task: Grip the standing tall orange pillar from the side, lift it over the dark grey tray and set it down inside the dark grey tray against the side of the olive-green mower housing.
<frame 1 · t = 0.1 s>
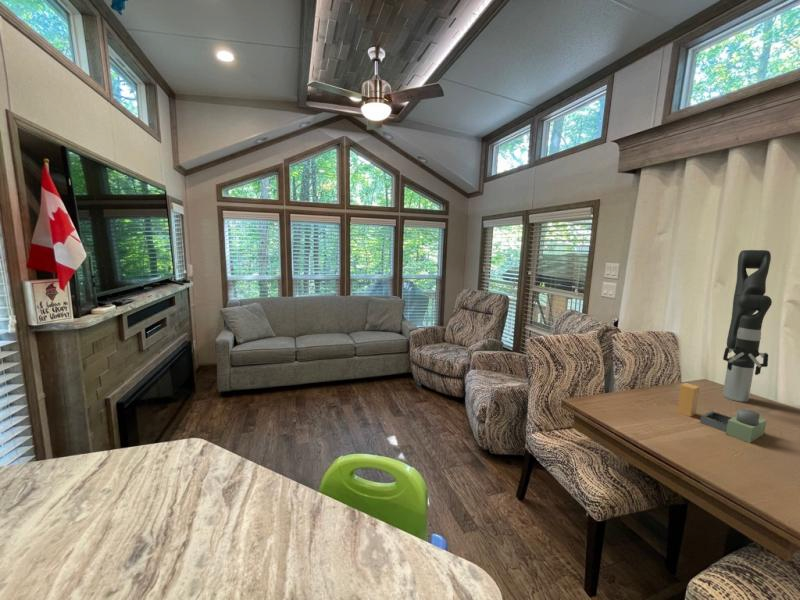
hand: (742, 372, 155), 17 cm above the table, tool pointing down, fingers open, 8 cm apart
dark grey tray: (720, 425, 141), on the table
mower housing: (744, 434, 134), on the table
tall orange pillar: (686, 413, 151), on the table
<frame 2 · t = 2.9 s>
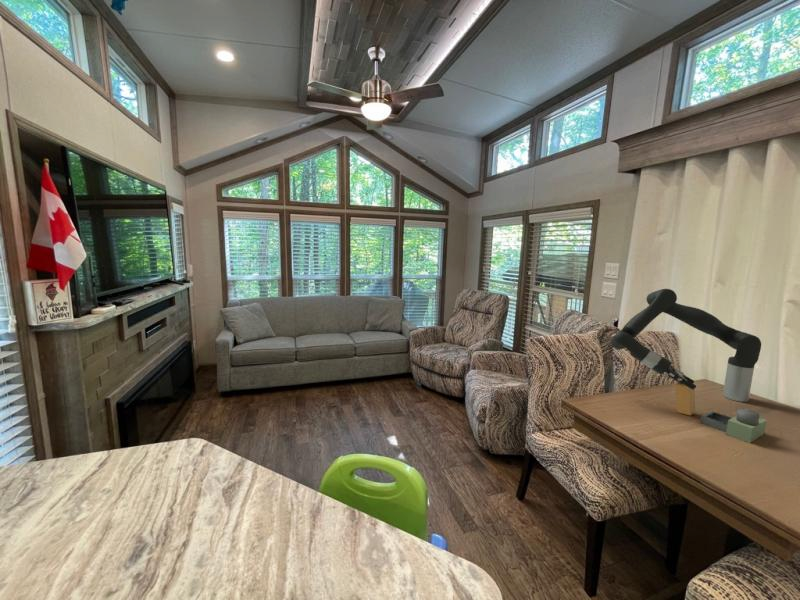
hand: (693, 385, 149), 13 cm above the table, tool tilted 60°, fingers open, 8 cm apart
tall orange pillar: (686, 412, 151), on the table, tilted 8°, touching gripper
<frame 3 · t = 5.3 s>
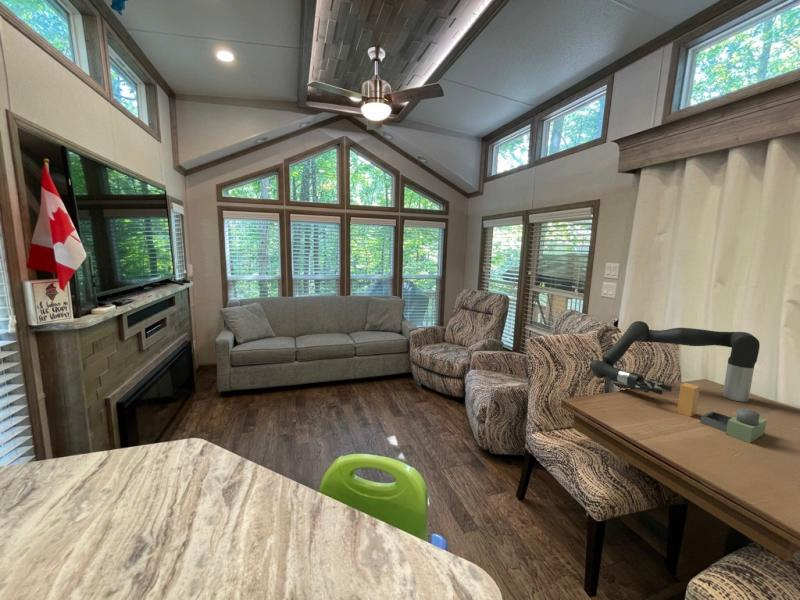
hand: (666, 390, 157), 7 cm above the table, tool horizontal, fingers open, 8 cm apart
tall orange pillar: (686, 413, 151), on the table
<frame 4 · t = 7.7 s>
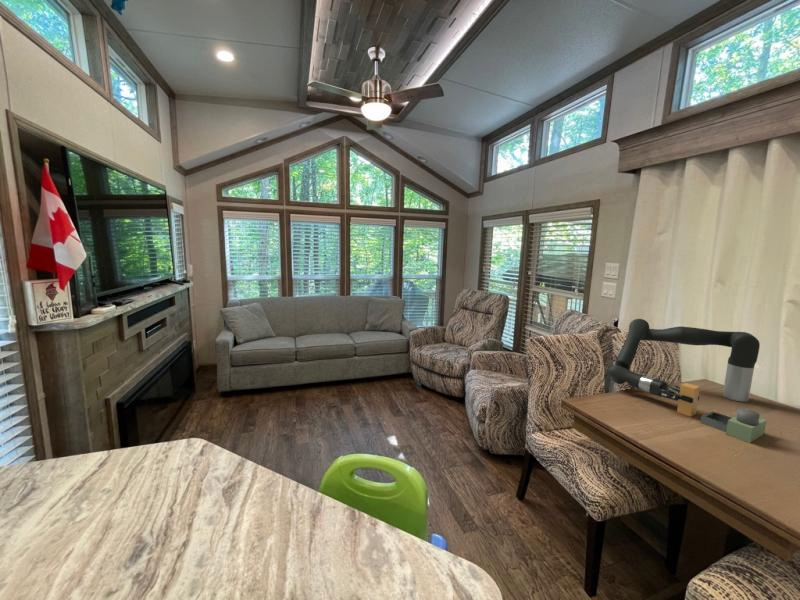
hand: (695, 399, 148), 8 cm above the table, tool horizontal, fingers closed on tall orange pillar, 5 cm apart
tall orange pillar: (686, 413, 151), on the table, touching gripper
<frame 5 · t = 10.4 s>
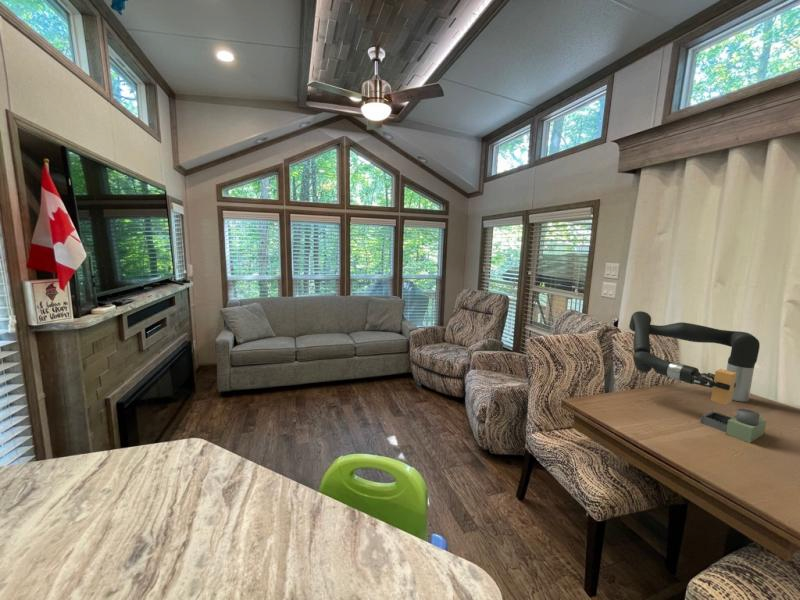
hand: (732, 386, 137), 18 cm above the table, tool horizontal, fingers closed on tall orange pillar, 5 cm apart
tall orange pillar: (721, 401, 140), point 10 cm above the table, touching gripper
when the fingers open (8 cm above the table, at t = 13.3 s): tall orange pillar stays where it is, on the table.
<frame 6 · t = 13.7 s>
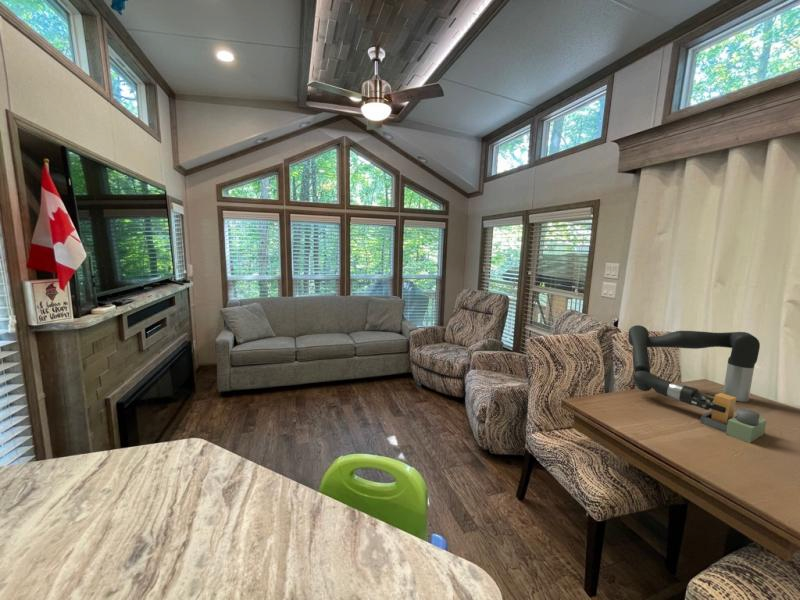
hand: (729, 408, 138), 9 cm above the table, tool horizontal, fingers open, 8 cm apart
tall orange pillar: (720, 425, 141), on the table
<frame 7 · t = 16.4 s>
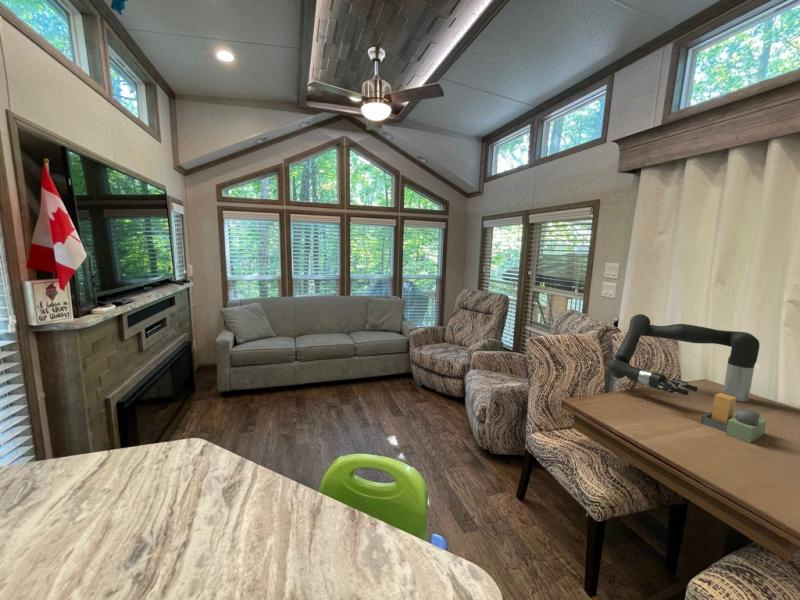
hand: (692, 391, 149), 11 cm above the table, tool horizontal, fingers open, 8 cm apart
nothing on the table moved.
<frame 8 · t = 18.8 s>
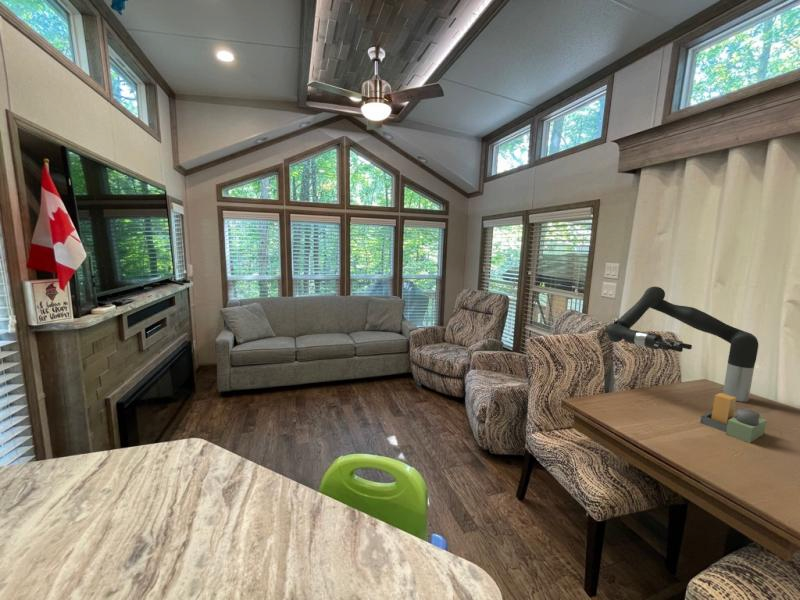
hand: (686, 348, 154), 28 cm above the table, tool horizontal, fingers open, 8 cm apart
nothing on the table moved.
at the end: tall orange pillar 0.0 cm from the target spot, on the table; tall orange pillar tilted 0°; the gripper is holding nothing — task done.
